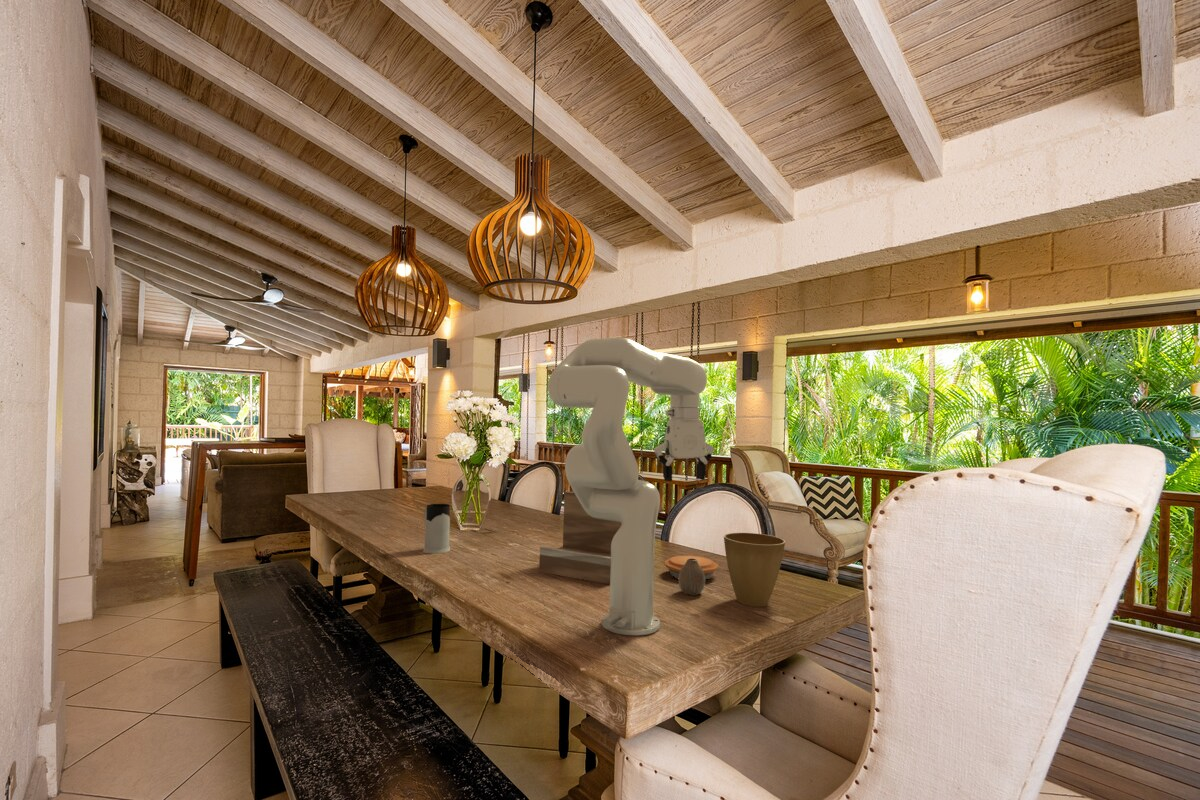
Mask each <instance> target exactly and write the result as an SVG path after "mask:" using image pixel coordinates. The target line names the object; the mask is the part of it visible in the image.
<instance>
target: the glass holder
mask: <svg viewBox="0 0 1200 800" xmlns="http://www.w3.org/2000/svg"><path fill="white" fill-rule="evenodd" d="M450 507H451V505H450V504H448V503H431V504H430V503H429V504H427V505H426V507H425V509H424V523H425V524H424V525H425V529H424V530H425V531H424V548H423V550H422V552H423V553H426V554H433V555H435V554H445V553H448V552H451V548H450V527H451V526H450V524H451V523H450V522H451V518H450V512H451V511H450V509H451V508H450Z"/></svg>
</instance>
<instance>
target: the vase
mask: <svg viewBox="0 0 1200 800" xmlns="http://www.w3.org/2000/svg"><path fill="white" fill-rule="evenodd" d="M678 585H679V588H680V590H681V591H682V593H684V594H685V595H687V594H690V595H689V596H698V594H699V595H700V594H701V593H702V592H703V590H704V588H705V585H706V580H705V575H704V572H703V570H702V568H701V567H700V565H699V564H698V562H697V560H696V559H693V558H689V559H687V562H686V563H685V564H684V566H683V567H682V568H681V570H680V573H679V579H678Z"/></svg>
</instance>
